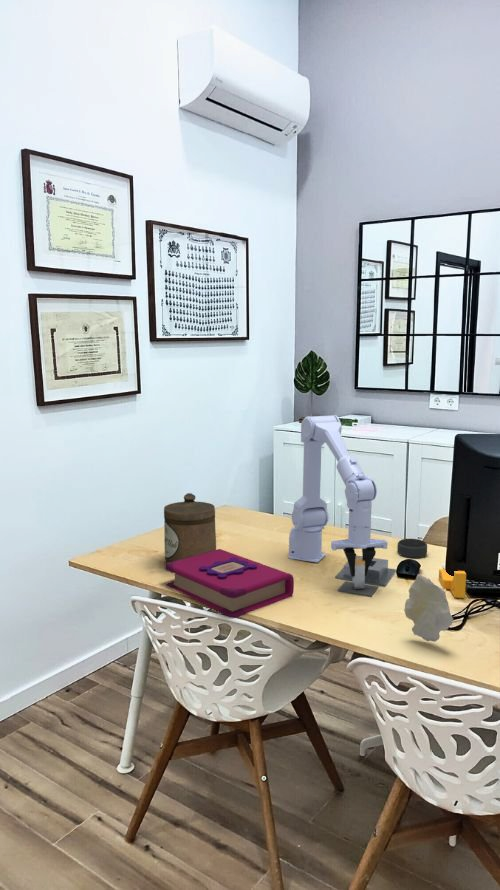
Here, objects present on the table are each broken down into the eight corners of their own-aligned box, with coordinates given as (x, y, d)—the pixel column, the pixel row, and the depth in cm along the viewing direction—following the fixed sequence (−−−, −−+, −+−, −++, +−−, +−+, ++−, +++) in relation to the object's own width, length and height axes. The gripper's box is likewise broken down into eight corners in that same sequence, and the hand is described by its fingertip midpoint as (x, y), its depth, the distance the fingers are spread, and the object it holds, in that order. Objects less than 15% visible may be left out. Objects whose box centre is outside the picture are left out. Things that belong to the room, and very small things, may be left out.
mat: (337, 591, 170) (337, 589, 170) (345, 582, 176) (345, 581, 176) (371, 597, 166) (371, 595, 166) (378, 587, 173) (378, 586, 173)
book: (223, 570, 187) (223, 545, 186) (294, 598, 167) (294, 570, 166) (163, 589, 173) (162, 561, 172) (232, 621, 153) (232, 591, 151)
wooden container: (165, 560, 195) (164, 488, 191) (214, 558, 196) (214, 487, 193) (164, 578, 180) (162, 500, 177) (217, 575, 182) (217, 499, 178)
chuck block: (334, 578, 179) (335, 566, 179) (348, 564, 191) (348, 552, 190) (385, 586, 173) (385, 573, 173) (396, 571, 185) (396, 559, 184)
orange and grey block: (352, 585, 172) (352, 558, 171) (361, 584, 173) (362, 557, 171) (354, 588, 170) (355, 561, 169) (364, 588, 170) (365, 561, 169)
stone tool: (454, 644, 140) (458, 578, 138) (448, 650, 137) (451, 583, 135) (407, 630, 147) (410, 567, 144) (400, 636, 144) (402, 571, 142)
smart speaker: (416, 548, 206) (416, 536, 205) (432, 557, 197) (433, 545, 197) (391, 551, 203) (392, 539, 202) (407, 560, 195) (407, 548, 194)
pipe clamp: (438, 580, 179) (439, 557, 178) (454, 580, 178) (455, 558, 177) (447, 597, 167) (448, 573, 166) (464, 597, 166) (466, 573, 165)
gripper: (335, 530, 164) (334, 581, 166) (391, 528, 165) (389, 579, 167) (329, 522, 171) (328, 571, 173) (383, 521, 172) (382, 570, 174)
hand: (358, 575), depth 171 cm, fingers closed on orange and grey block, 2 cm apart
